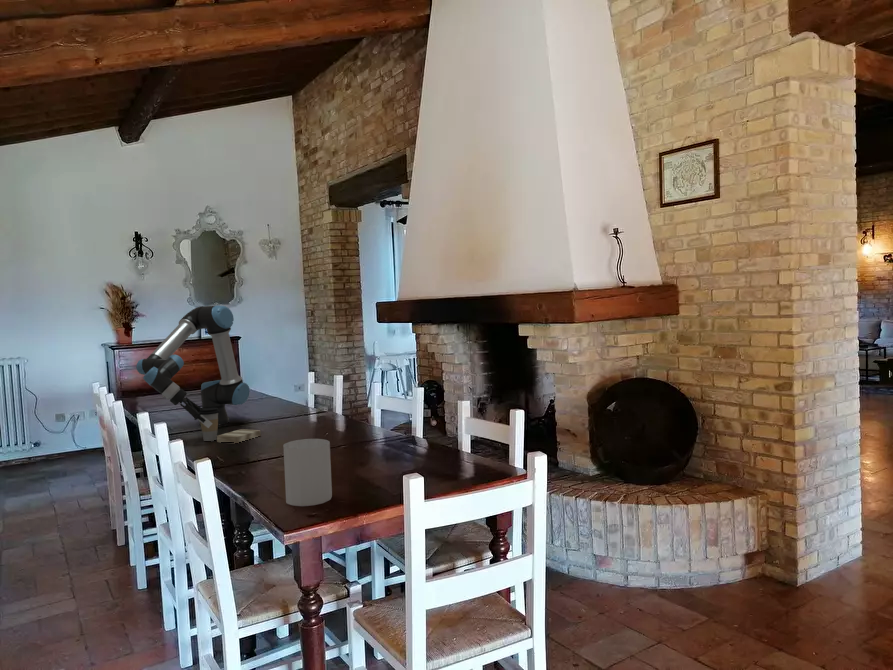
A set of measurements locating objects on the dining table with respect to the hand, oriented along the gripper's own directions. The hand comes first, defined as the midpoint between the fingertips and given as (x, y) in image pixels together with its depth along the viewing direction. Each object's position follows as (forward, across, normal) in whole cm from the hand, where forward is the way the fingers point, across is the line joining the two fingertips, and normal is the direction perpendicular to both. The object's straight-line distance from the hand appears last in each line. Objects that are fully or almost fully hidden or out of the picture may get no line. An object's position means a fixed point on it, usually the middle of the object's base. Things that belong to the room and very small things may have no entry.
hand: (211, 423), depth 303 cm
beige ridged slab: (+14, +3, +3) cm, 15 cm away
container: (+30, +113, +18) cm, 118 cm away
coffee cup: (+5, -1, -6) cm, 8 cm away
